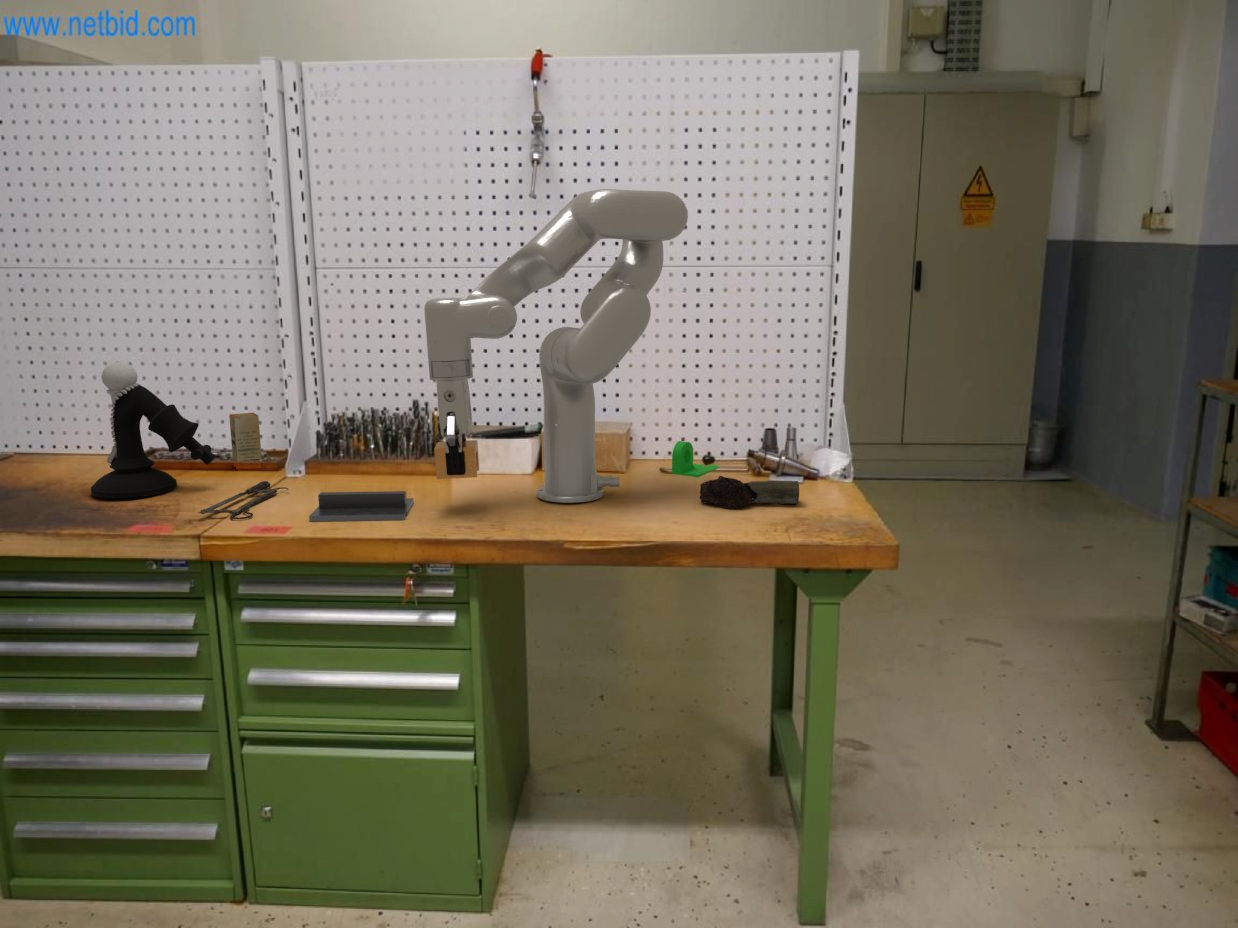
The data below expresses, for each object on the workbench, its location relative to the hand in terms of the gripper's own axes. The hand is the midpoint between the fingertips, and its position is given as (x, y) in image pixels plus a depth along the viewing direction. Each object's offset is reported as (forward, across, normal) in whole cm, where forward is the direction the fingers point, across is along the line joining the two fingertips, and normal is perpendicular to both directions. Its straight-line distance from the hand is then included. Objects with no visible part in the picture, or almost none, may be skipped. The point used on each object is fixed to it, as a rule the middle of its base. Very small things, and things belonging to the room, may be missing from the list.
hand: (458, 469), depth 169 cm
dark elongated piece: (+12, -2, -58) cm, 59 cm away
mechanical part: (+10, +26, -47) cm, 54 cm away
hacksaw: (+6, +9, +44) cm, 45 cm away
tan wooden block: (+1, 0, 0) cm, 1 cm away
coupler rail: (+7, 0, +17) cm, 19 cm away
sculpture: (+6, +21, +61) cm, 65 cm away
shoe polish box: (+6, +39, +49) cm, 63 cm away
